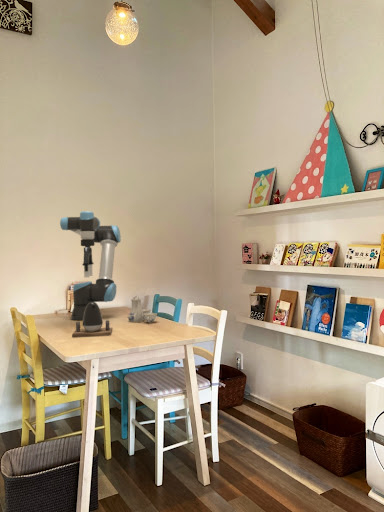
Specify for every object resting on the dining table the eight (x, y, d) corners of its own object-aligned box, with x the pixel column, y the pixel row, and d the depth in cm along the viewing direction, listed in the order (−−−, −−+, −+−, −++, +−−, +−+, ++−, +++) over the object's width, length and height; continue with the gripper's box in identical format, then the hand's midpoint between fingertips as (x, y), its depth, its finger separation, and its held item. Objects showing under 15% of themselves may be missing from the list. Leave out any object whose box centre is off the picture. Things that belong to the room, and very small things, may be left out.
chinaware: (161, 326, 235) (163, 297, 236) (133, 325, 229) (135, 296, 229) (147, 318, 261) (149, 293, 261) (122, 318, 254) (124, 292, 255)
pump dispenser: (85, 333, 202) (84, 303, 202) (80, 330, 211) (80, 301, 211) (105, 331, 207) (104, 302, 206) (100, 328, 216) (99, 300, 216)
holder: (76, 332, 214) (76, 320, 214) (112, 330, 217) (112, 318, 216) (72, 337, 201) (71, 324, 201) (110, 335, 204) (110, 322, 204)
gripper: (83, 239, 238) (84, 275, 239) (77, 238, 214) (78, 278, 214) (96, 239, 239) (97, 275, 240) (91, 238, 215) (92, 277, 215)
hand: (88, 276), depth 227 cm, fingers open, 13 cm apart
